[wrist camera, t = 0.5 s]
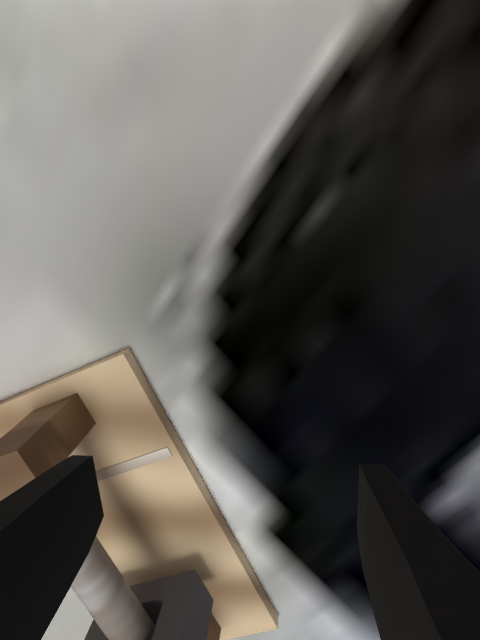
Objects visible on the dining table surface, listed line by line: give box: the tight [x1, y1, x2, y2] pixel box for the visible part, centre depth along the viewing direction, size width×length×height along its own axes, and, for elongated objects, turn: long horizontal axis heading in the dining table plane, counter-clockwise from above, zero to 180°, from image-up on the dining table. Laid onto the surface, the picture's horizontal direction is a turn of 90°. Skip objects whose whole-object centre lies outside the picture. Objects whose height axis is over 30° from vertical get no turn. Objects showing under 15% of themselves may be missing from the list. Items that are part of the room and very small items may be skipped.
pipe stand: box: [0, 348, 278, 640], centre depth 21 cm, size 20×10×6 cm, turn 25°
